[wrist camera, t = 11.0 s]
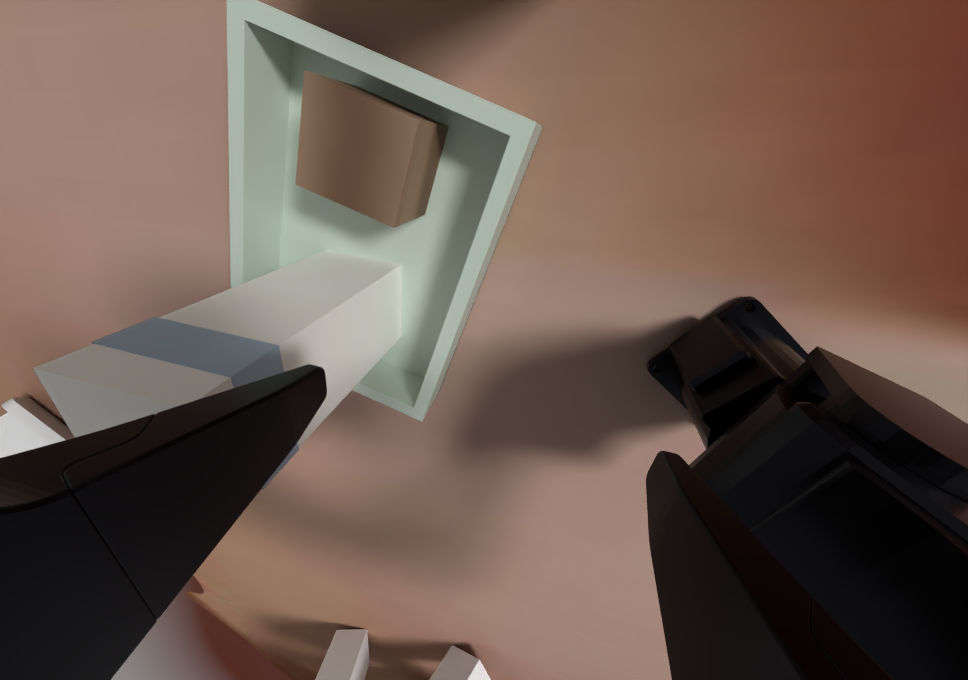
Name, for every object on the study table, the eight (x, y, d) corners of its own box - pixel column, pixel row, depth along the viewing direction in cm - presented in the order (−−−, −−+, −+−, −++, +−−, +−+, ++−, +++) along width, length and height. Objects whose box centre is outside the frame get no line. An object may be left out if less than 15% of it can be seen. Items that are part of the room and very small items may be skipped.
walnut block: (448, 126, 18) (418, 120, 14) (425, 214, 20) (394, 228, 16) (356, 85, 18) (304, 70, 14) (343, 178, 20) (295, 184, 16)
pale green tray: (542, 127, 17) (536, 122, 14) (439, 390, 26) (422, 421, 23) (286, 15, 17) (226, -14, 14) (270, 314, 26) (231, 336, 23)
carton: (402, 263, 22) (184, 407, 9) (401, 337, 24) (229, 525, 12) (325, 249, 22) (30, 366, 10) (332, 322, 25) (103, 486, 13)
